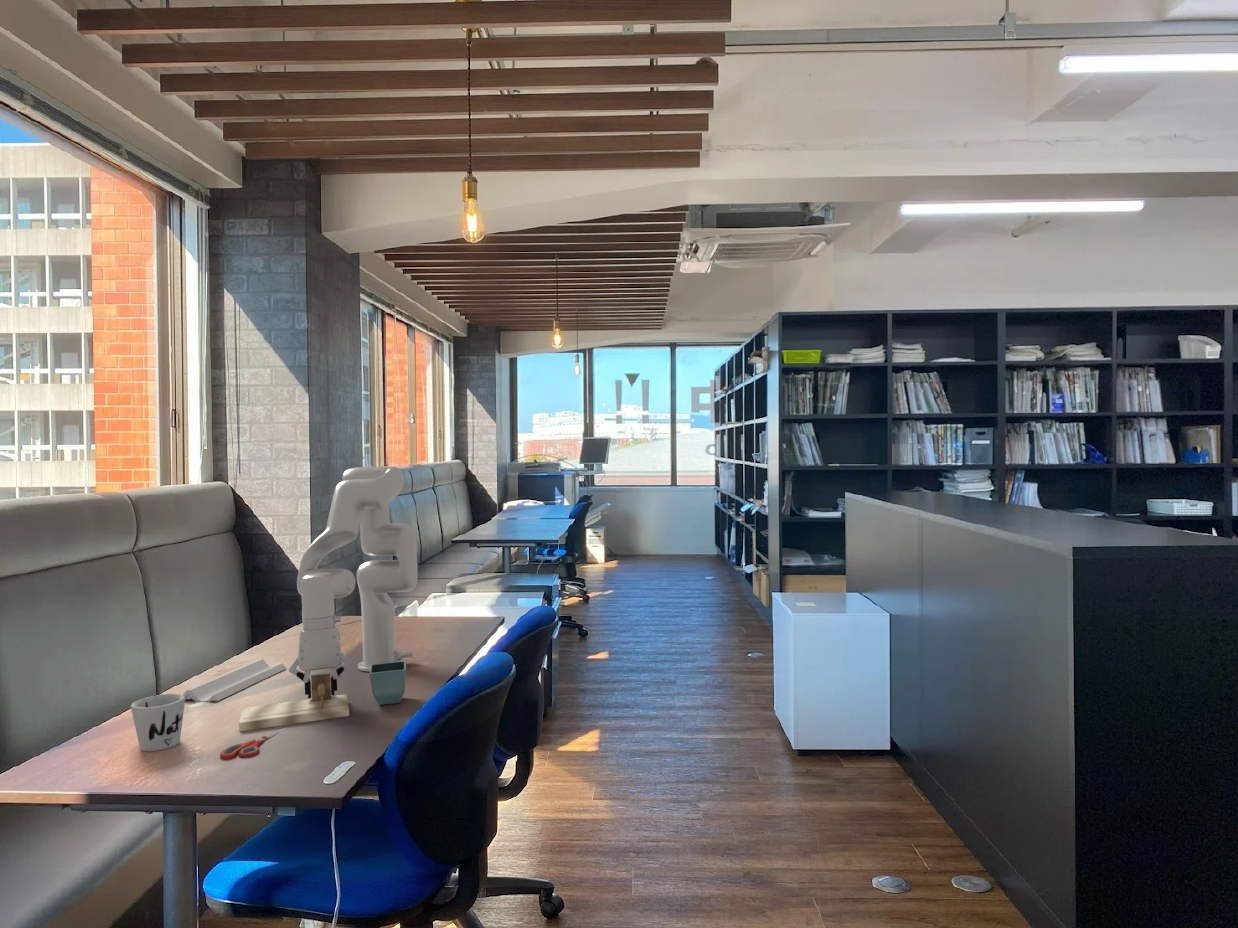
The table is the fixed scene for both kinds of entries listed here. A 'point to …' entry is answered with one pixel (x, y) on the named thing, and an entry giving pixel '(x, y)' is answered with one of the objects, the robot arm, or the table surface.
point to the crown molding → (232, 682)
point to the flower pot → (388, 682)
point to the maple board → (292, 712)
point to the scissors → (246, 747)
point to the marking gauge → (321, 687)
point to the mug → (158, 721)
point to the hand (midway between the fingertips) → (321, 694)
